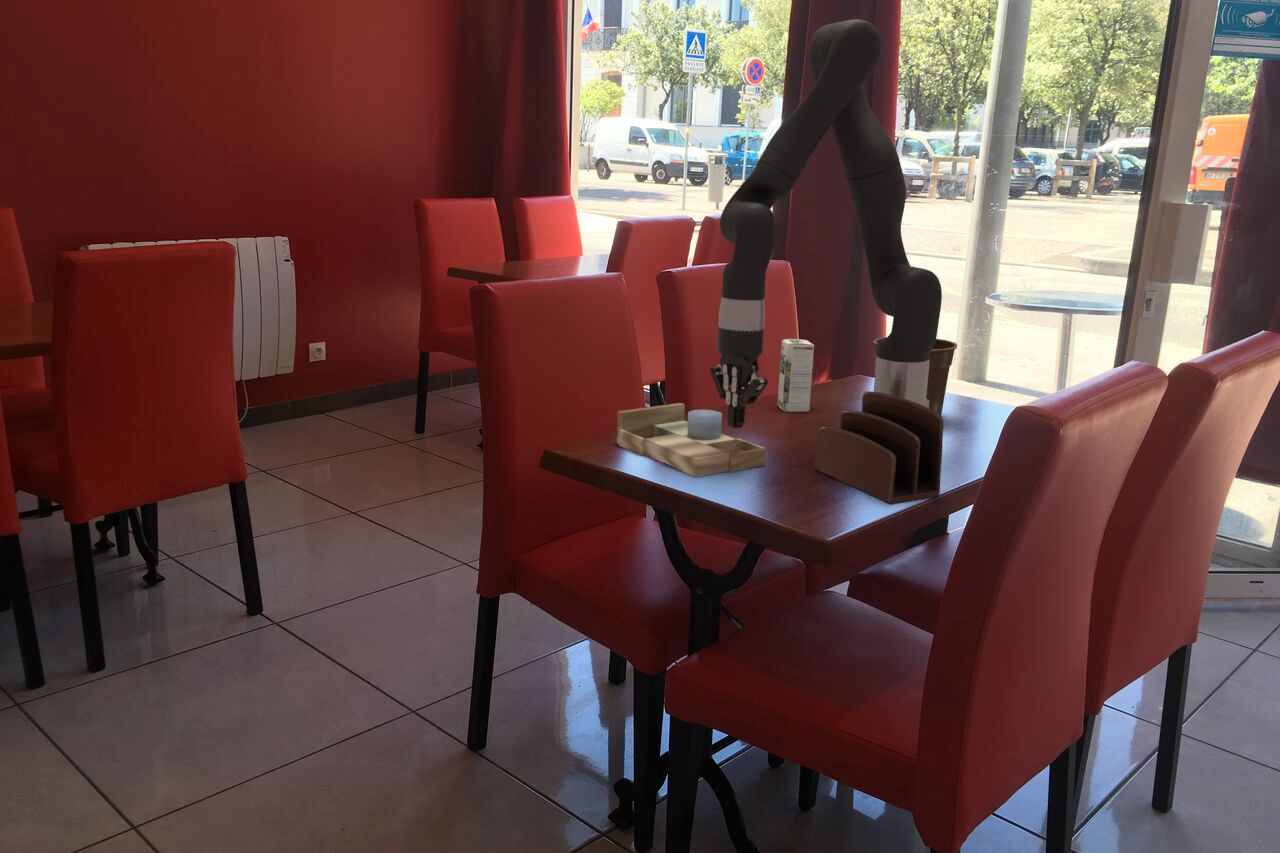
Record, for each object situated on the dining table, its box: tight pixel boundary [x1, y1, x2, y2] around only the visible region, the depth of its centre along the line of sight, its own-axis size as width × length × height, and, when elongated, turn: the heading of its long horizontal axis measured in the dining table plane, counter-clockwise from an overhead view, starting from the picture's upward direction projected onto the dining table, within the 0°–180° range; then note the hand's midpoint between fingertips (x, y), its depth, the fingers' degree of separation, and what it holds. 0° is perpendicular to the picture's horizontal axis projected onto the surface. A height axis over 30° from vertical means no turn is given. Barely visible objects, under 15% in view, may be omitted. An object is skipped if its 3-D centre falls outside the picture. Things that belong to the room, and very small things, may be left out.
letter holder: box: [815, 390, 945, 505], centre depth 167 cm, size 10×20×14 cm, turn 26°
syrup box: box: [777, 338, 815, 413], centre depth 217 cm, size 6×6×14 cm
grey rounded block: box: [687, 409, 723, 440], centre depth 184 cm, size 6×6×4 cm
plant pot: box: [872, 336, 958, 416], centre depth 209 cm, size 16×16×16 cm
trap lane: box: [616, 402, 766, 478], centre depth 183 cm, size 25×15×6 cm, turn 34°
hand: (735, 426), depth 175 cm, fingers closed
